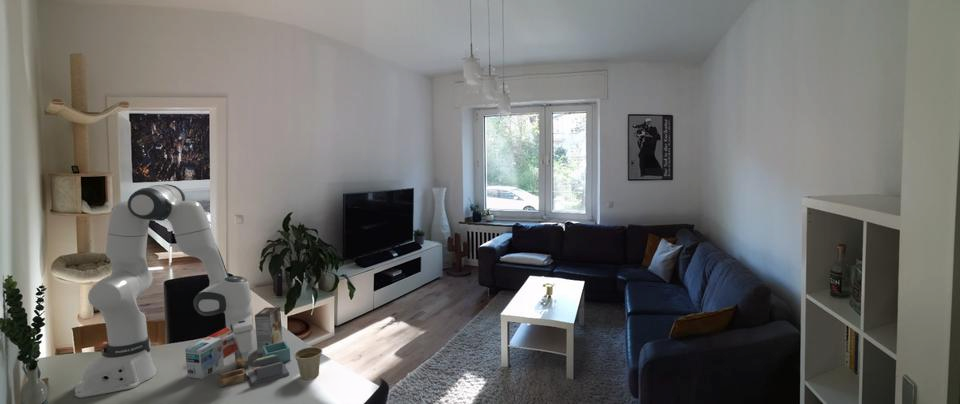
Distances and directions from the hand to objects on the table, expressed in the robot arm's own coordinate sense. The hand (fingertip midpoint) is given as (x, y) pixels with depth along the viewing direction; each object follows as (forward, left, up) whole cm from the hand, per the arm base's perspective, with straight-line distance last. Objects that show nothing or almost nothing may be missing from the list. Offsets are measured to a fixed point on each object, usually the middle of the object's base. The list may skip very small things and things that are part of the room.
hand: (242, 355), depth 168 cm
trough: (-5, -8, -5) cm, 10 cm away
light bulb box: (-12, +6, -5) cm, 14 cm away
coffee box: (+11, +12, -5) cm, 18 cm away
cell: (-1, 0, -5) cm, 5 cm away
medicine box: (-3, +21, -5) cm, 22 cm away
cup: (+11, 0, -5) cm, 12 cm away
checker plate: (+6, -11, -3) cm, 13 cm away
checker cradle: (+6, -11, -5) cm, 14 cm away
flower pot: (+18, -20, -5) cm, 28 cm away
